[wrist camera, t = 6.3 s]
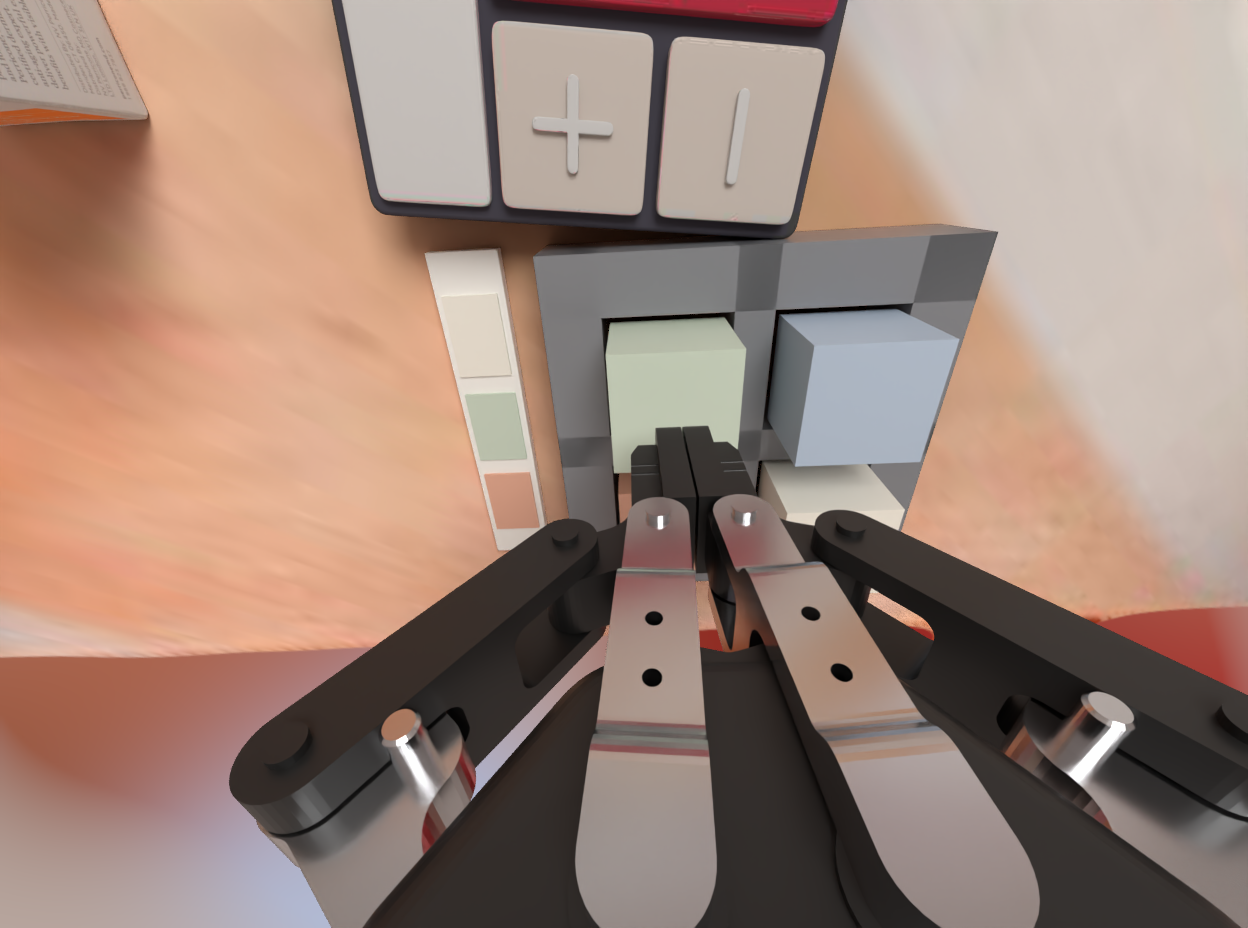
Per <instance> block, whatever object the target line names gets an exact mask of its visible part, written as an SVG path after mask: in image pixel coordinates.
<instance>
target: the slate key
mask: <svg viewBox="0 0 1248 928" xmlns="http://www.w3.org/2000/svg"><path fill="white" fill-rule="evenodd" d="M959 340H960V339H958V338H956V337H954V336H952V335H950V334H948V333H946V332H944V331H942V330H939V329H937V328H935V327H933V326H931V325H929V324H927V323H925V322H923V321H921V320H919V319H917V318H914V317H912V316H910V315H908V314H906V313H904V312H902V311H900V310H898V309H882V310H861V311H840V312H820V313H799V314H779V322H778V330H777V338H776V347H775V355H774V364H773V372H772V381H771V389H770V398H769V406H768V415H767V419H768V421H769V423H770V424H771V426H772V428H773V430H774V431H775V433H776V435H777V436H778V438H779V440H780V442H781V443H782V445H783V447H784V449H785V450H786V452H787V454H788V455H789V457H790V459H791V461H792V462H793V464H794V466H795V467H799V466H826V465H854V464H881V463H908V462H920V461H921V458H922V455H923V452H924V449H925V446H926V442H927V439H928V436H929V433H930V430H931V427H932V424H933V421H934V418H935V414H936V411H937V408H938V405H939V402H940V399H941V396H942V393H943V389H944V386H945V383H946V380H947V377H948V374H949V371H950V368H951V365H952V361H953V358H954V355H955V352H956V349H957V346H958V343H959Z"/></svg>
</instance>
